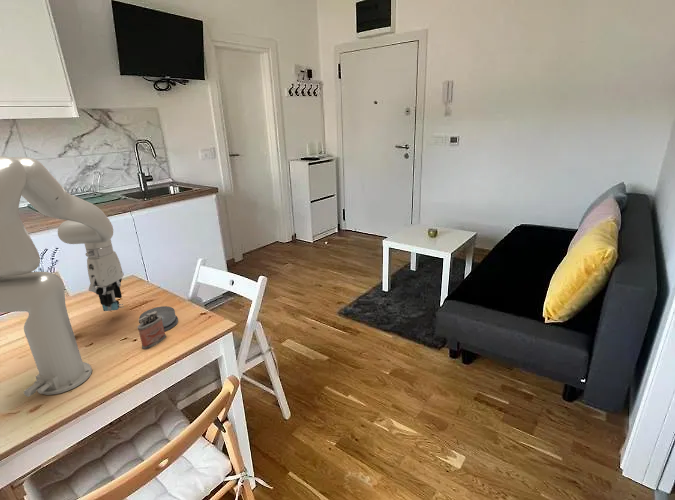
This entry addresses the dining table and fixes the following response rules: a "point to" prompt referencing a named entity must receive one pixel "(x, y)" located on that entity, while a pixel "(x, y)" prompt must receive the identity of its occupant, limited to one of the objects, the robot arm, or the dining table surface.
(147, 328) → the lighter
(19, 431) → the dining table surface
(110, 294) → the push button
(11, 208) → the robot arm
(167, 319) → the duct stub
